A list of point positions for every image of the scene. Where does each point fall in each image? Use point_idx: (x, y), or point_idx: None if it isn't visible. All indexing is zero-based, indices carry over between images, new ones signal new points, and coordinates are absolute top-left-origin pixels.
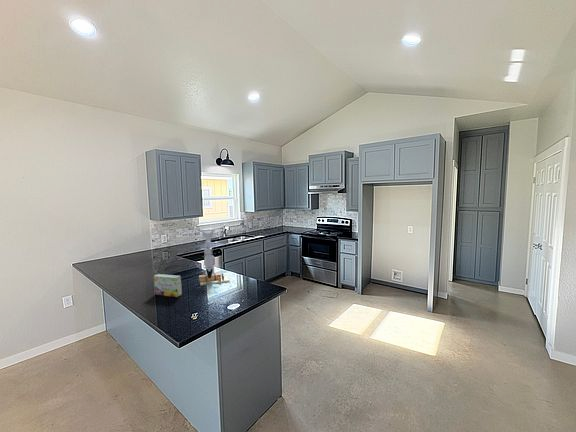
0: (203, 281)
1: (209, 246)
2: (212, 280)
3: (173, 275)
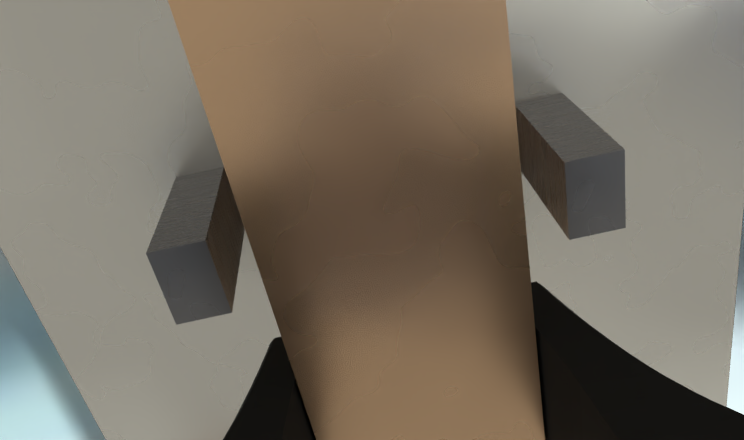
0: None
1: None
2: None
3: None
